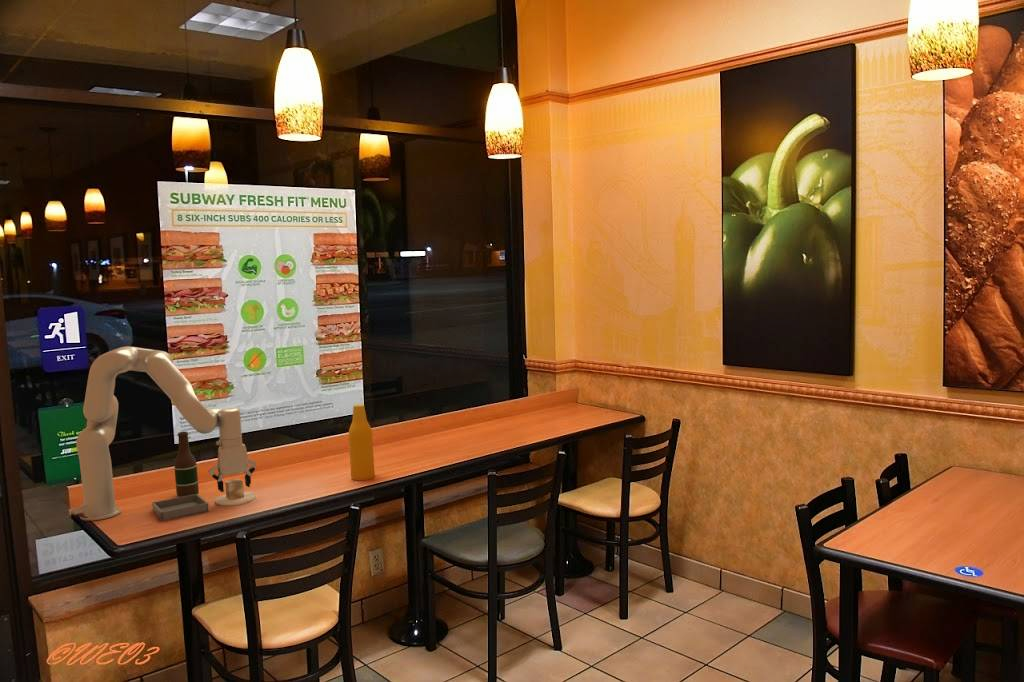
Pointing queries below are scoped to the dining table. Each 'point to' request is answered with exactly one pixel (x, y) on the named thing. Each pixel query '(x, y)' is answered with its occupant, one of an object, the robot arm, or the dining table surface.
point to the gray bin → (179, 507)
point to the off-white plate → (225, 501)
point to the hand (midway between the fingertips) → (234, 488)
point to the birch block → (234, 489)
